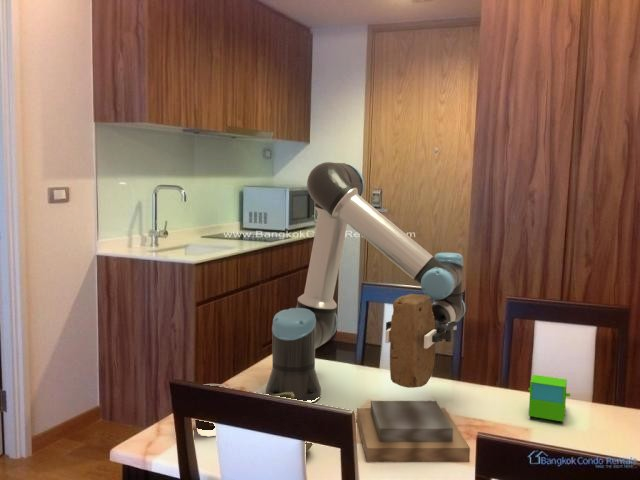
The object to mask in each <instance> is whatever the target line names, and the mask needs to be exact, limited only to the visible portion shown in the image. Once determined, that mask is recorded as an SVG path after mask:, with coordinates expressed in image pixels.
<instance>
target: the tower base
mask: <svg viewBox="0 0 640 480" xmlns="http://www.w3.org/2000/svg"><path fill="white" fill-rule="evenodd" d="M356 422H357V426H358V430H359V433H360V434H359V435H360V438H361V443H362V447H363V451H364V455H365V460H366V462H368V463H372V462H373V463H376V462H378V463H379V462H383V463H384V462H394V463H395V462H397V463H398V462H400V463H401V462H408V463H409V462H415V463H416V462H418V463H419V462H428V463H429V462H430V463H431V462H470V459H471V458H470V454H471V447H470V445H469V443H468V442H467V441H466V439H465V438H464V435H462V433H461V431H460V430H459V429H458V427H457V425H456V423H455V422H454V420H453V419H452V418H451V416H450V414H449V412H448V411H447V410H446V408H445V407H441V406H440V404H439V403H438V402H437V400H370V407H357V409H356Z"/></svg>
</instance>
